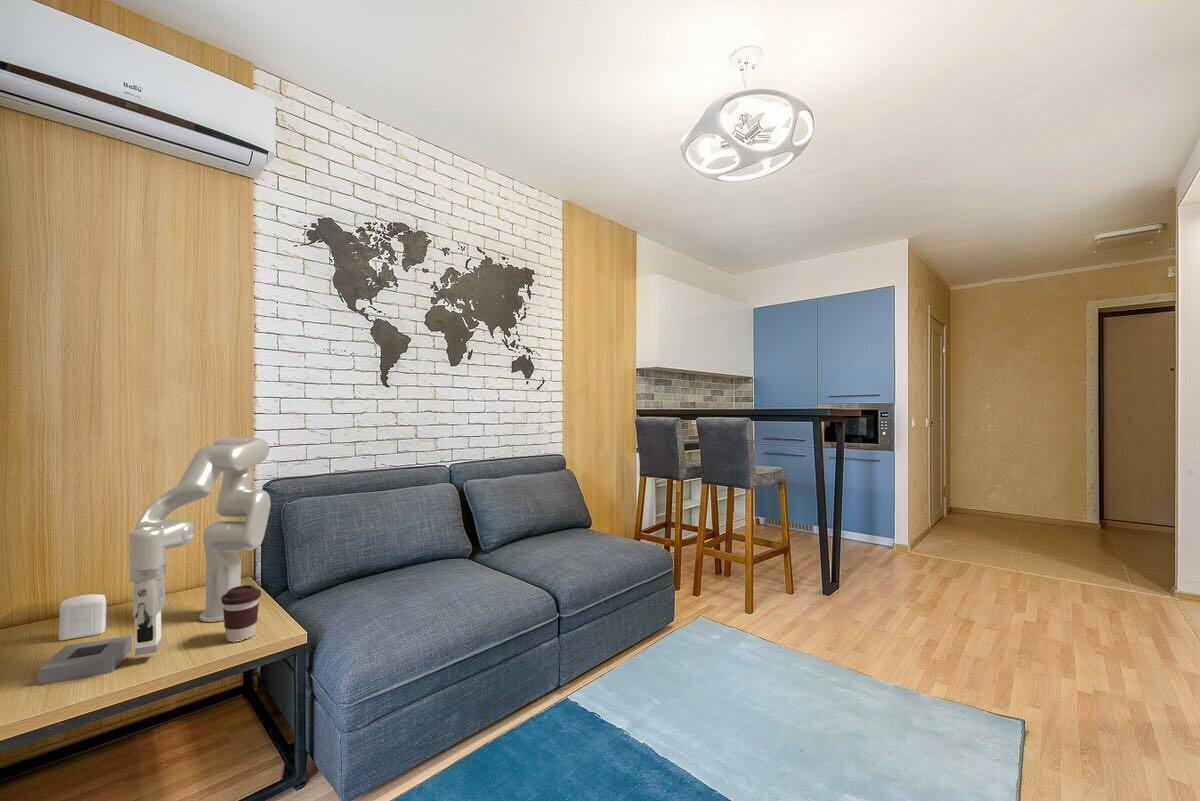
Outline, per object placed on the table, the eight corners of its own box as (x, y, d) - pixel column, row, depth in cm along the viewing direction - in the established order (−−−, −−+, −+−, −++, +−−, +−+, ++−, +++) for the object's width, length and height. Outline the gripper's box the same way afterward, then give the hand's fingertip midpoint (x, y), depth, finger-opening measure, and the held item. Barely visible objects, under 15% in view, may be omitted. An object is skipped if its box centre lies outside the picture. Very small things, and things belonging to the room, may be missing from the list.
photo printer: (107, 629, 159) (108, 590, 159) (103, 634, 156) (104, 594, 156) (61, 637, 154) (61, 596, 154) (56, 642, 150) (57, 601, 150)
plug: (161, 644, 144) (160, 603, 144) (156, 652, 140) (155, 609, 140) (140, 648, 142) (140, 606, 142) (135, 655, 138) (134, 612, 138)
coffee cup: (254, 627, 162) (254, 580, 162) (264, 636, 156) (265, 588, 156) (216, 638, 154) (217, 589, 154) (226, 648, 148) (227, 597, 148)
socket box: (131, 648, 147) (131, 635, 147) (112, 672, 135) (112, 657, 135) (65, 659, 141) (65, 645, 141) (39, 685, 128) (39, 669, 128)
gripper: (155, 581, 135) (156, 648, 135) (173, 561, 150) (174, 621, 150) (118, 586, 131) (119, 654, 132) (140, 564, 146) (141, 626, 147)
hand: (148, 636), depth 141 cm, fingers closed on plug, 4 cm apart
